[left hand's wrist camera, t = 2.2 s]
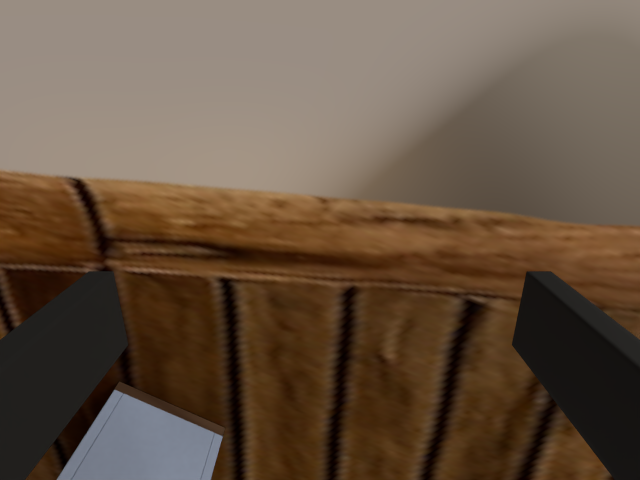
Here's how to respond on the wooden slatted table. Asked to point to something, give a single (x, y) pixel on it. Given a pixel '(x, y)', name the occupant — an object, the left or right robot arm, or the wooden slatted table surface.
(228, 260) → the wooden slatted table surface
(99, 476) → the chest
